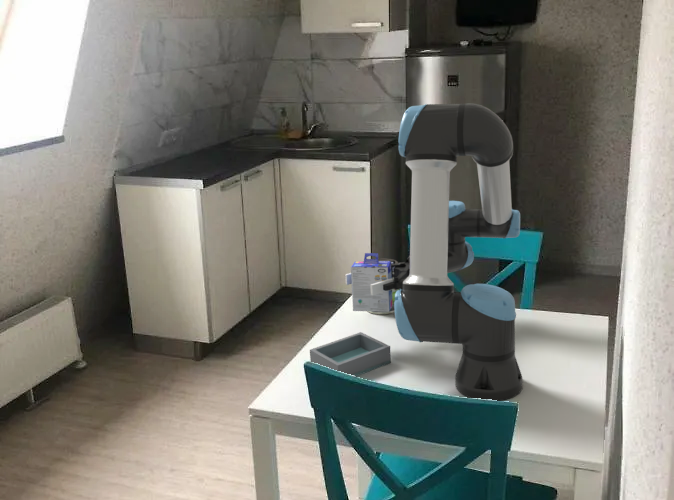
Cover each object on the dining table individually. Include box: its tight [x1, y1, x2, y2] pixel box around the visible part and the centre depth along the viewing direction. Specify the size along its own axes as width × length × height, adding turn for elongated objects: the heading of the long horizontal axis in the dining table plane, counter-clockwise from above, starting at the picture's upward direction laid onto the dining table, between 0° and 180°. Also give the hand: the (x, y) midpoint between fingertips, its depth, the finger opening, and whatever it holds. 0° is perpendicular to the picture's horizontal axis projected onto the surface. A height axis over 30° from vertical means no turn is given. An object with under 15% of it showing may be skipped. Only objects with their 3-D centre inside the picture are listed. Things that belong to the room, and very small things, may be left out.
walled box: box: [309, 331, 392, 377], centre depth 184 cm, size 12×16×4 cm
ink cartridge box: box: [350, 252, 393, 312], centre depth 190 cm, size 10×6×14 cm, turn 78°
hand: (358, 284), depth 187 cm, fingers closed on ink cartridge box, 10 cm apart
